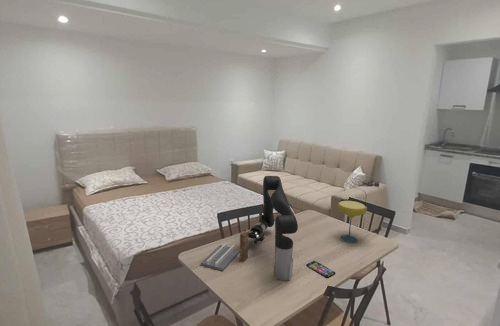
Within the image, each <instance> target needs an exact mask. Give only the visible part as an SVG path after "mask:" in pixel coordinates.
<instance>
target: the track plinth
mask: <svg viewBox="0 0 500 326" xmlns="http://www.w3.org/2000/svg"><path fill="white" fill-rule="evenodd" d="M238 255H240V248H236V245H235V244H233V245H231V246H230V247H229V246H228V242H225V243H224V244H223V245H221V244H220V245H218V246H217V247H216V248H215V249H214V250H213V251H212V252H211V253H210V254H209V255H207V256H206V257H205V258H204V259H203V260H202V261H201V262H200V265H201V267H206V268H210V269H213V270H217V271H220V272H224V271H225V270H226V269H227V268H228V267H229V266H230V265H231V263H232V262H233V261H234V260H235V259H236V258H237V256H238Z"/></svg>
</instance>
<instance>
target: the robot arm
mask: <svg viewBox="0 0 500 326" xmlns="http://www.w3.org/2000/svg"><path fill="white" fill-rule="evenodd" d="M269 191H273V193H272V194H271V195H270V194H269ZM262 195H263V196H262V197H263V203H262V205H263V206H262V214H261V215H260V217H259V218H258V219H259V220H258V222H257V223H255V224H254V225H253V226H252V227H251V228H250V230H248V231H247V230H245V229H244V230H243V231H246V232H249V233H248V239H254V240H253V245H256V244H257V243H259V242H260V243H262V242H263V241H264V239H265V238H266V237H265V235H266V234H264V233H265V232H266V230H267V229H268V228H272V227H274V231H275V232H274V233H275V234H274V257H273V276H274V277H275V279H277V280H280V281H290V280H291V278H292V276H293V270H294V269H293V268H294V258H293V254H294V253H293V250H294V241H293V239H292V238H290V237H289V236H287V235H291V234H292V235H293V234H296V233H297V231H298V226H299V225H298V220H297V218H296V216H295V214H294V212H293V210H292V209H291V206H290V204H289V203H290V202H289V200H288V198H287V197H288V196H287V195H286V193H285V191H284V188H283V183H282V180H281V178H280V176H278V175H265V176H264V177H263V182H262ZM274 210H275V212H277V213H278V214H280V215H277V216H274ZM241 233H242V232H241ZM241 233H239V235H240V234H241Z"/></svg>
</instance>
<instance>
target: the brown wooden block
mask: <svg viewBox="0 0 500 326" xmlns="http://www.w3.org/2000/svg"><path fill="white" fill-rule="evenodd" d="M248 233H249V232H248V231H247V230H246V231H244V230H242V232H241V234H240V233H239V250H240V253H239V261H241V262H246V260H247V259H248V258H249V238H248Z"/></svg>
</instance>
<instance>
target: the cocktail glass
mask: <svg viewBox="0 0 500 326" xmlns="http://www.w3.org/2000/svg"><path fill="white" fill-rule="evenodd" d="M337 209H338V210H339V211H340V212H341V213H342V214H344V215H346V216H348V218H349V219H350V220H349V228H348V234H343V235H341V236H340V240H341V239H342V241H343V242H344V243H349V244H354V243H357V242H358V238H357V237H355V236H353V235H351V226H352V220H353V218H355V217H359V216H362V215H364V214H366V212H367V211H368V206H367V204H366V203H365V202H363V201H361V200H356V199H355V200H354V199H341V200H338V202H337Z"/></svg>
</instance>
